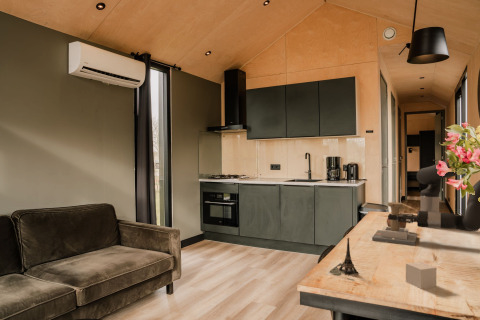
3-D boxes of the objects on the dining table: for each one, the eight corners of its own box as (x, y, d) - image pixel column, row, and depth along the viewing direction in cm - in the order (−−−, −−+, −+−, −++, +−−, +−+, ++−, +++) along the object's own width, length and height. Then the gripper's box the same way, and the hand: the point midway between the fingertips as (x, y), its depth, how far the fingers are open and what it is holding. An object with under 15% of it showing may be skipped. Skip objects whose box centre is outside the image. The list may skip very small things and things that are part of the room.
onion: (402, 229, 183) (402, 211, 183) (409, 233, 173) (409, 214, 173) (384, 229, 184) (384, 211, 184) (390, 233, 174) (390, 214, 174)
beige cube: (405, 282, 107) (405, 263, 107) (420, 280, 109) (420, 261, 109) (420, 289, 101) (420, 269, 101) (436, 287, 103) (436, 267, 103)
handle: (400, 235, 158) (400, 204, 158) (386, 233, 163) (386, 203, 163) (403, 234, 162) (403, 203, 162) (389, 232, 166) (389, 202, 166)
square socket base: (377, 233, 175) (377, 224, 175) (416, 237, 166) (416, 228, 166) (372, 240, 159) (372, 231, 159) (414, 245, 150) (414, 235, 150)
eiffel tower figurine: (340, 264, 126) (340, 228, 126) (367, 269, 120) (368, 232, 120) (324, 276, 114) (324, 236, 113) (355, 282, 108) (355, 241, 108)
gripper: (429, 209, 161) (390, 206, 170) (428, 213, 149) (386, 210, 158) (429, 224, 161) (390, 221, 170) (428, 230, 149) (386, 226, 158)
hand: (388, 216), depth 164 cm, fingers closed on handle, 3 cm apart
